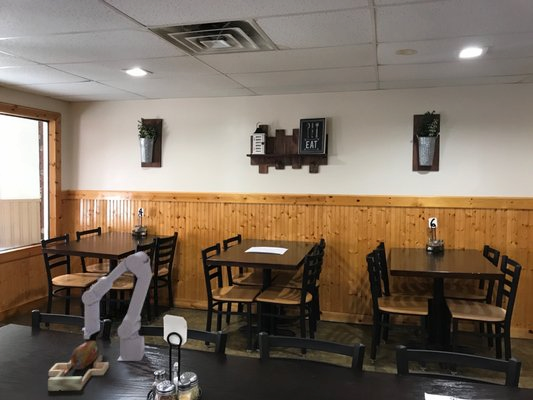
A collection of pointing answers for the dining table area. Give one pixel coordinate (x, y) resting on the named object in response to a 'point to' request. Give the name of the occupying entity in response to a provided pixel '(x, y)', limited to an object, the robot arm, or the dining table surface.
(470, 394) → the dining table surface
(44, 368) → the dining table surface
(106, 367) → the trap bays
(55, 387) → the lane
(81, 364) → the tin
